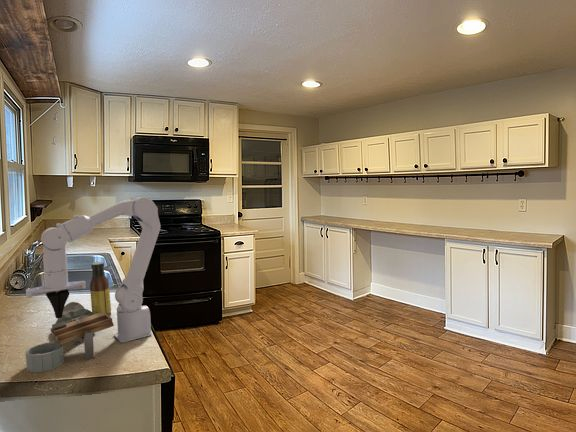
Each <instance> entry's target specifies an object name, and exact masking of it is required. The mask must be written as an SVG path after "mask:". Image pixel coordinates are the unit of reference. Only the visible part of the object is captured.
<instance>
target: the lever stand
mask: <svg viewBox="0 0 576 432" xmlns="http://www.w3.org/2000/svg"><path fill="white" fill-rule="evenodd" d="M76 319H78V320H79V319H80V318H74V319H72V321H75V320H76ZM72 343H73V345H77V344H82V343H84V346H83V347H84V360H85V361H86V362H88V361H91V360H95V347H94V333H93V332H92V331H90V332H85V333H84V337H83V342H82V337H81V338H78V339H75V340H72Z"/></svg>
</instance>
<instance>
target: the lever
mask: <svg viewBox="0 0 576 432" xmlns="http://www.w3.org/2000/svg"><path fill="white" fill-rule="evenodd" d="M55 323H56V322H55ZM55 323H53V324H51V327H52V328H50V329H49V330H50V332H51V334H52V336H53V337H54V339H55V342H57V343H58V344H59V345H61V344H62V345H63V344H66V343H70V342H73V340H75V339H78V338H81V339H82V338H84V333H85V332H90V331H92V332H93V334H94V333H98V332H100V331H103V330H107V329H108V328H111V327H114V326H115V325H114V322H113V318H112V317H111V315H110V316H109V315H108V314H105V315H104V314H103V313H102V312H101V313H97V314H94V315H91V316H88V317H85V318H82V319H79V320H78V319H76V320H75V321H72V322H69V323H66V324H65V322H64V321H62V322H59V323H56V324H55Z"/></svg>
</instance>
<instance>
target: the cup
mask: <svg viewBox="0 0 576 432" xmlns="http://www.w3.org/2000/svg"><path fill="white" fill-rule="evenodd" d="M25 362H26V363H25V364H26V365H25V367H26V370H27V372H29V371H30V372H29V373H43V372H48V371H52V370H54V369H56V368H58V367H61V366H62V364H63V363H64V347H63V344H61V345H59V344H58V342H57V341H53V342H51V341H50V342H43V343H40V344H36V345H34V346H31V347H29V348H28V349H27V350H26V351H25Z"/></svg>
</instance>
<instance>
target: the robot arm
mask: <svg viewBox="0 0 576 432" xmlns="http://www.w3.org/2000/svg"><path fill="white" fill-rule="evenodd" d="M158 211H159V208H158V206H157V205H156V204H155V202H154V201H153V200H152V199H151V198H149V197H141V196H134V197H131V198H127V199H125V200H122V201H119V202H117V203H115V204H113V205H110V206H108V207H106V208H104V209H102V210H100V211H98V212H95V213H94V214H92V215H85V214H80V215H79V214H75V215H73V216H72V219H69V220H67V221H64V222H62V223H60V222H58V223H55V226H56V227H49V228H46V229H45V230H44V231H43V232H42V234H41V237H40V241H41V243H42V245H43V248H42V252H43V255H42V260H43V262H42V264H43V274H44V276H43V278H44V285H42V286H37V287H32V288H26V289H25V293H26V294H25V295H26V298H27V299H28V298H33V297H38V296H43V295H45V296H46V298H47V300H48V301H49V302H50V305H51V307H52V308H53V312H54V316H55V318H56V319H58V318H62V314H63V309H64V306H66V303H67V301H68V299H69V296H70V291H73V290H74V291H75V290H79V289H80V290H81V289H82V290H83V289H86V288H87V282H86V281H85V280H78V281H69V274H68V273H69V272H68V270H69V269H68V257H67V255H68V254H67V252H66V245H67V243H71V242H73V241H76V240H78V239H80V238H82V237H84V236H86V235H89V234H92V232H93V231H94V228H95V227H96V226H98V225H101V224H103V223H105V222H108V221H110V220H113V219H115V218H118V217H120V216H129V217H130V216H131V217H133V218H134V219H136V220H137V222H138V224H139V225H140V227H141V229H142V230H141V232H140V235H139V239H138V241H137V244H136V248H135V250H134V254H133V256H132V258H131V261H130V265H129V268H128V270H127V275H125V278H124V279H122V281H121V284H120V286H119V287H118V288H117V289H116V291H115V293H114V298H115V301H116V302H117V303H118V305H117V307H116V319H117V321H116V323H117V332H115V333H113V336H114V337H115V338H116V339H117V340H118V341H119V343H127V342H131V341H134V340H140V339H142V338H146V337H150V336H152V335H153V333H152V325H151V322H152V321H151V310H150V308H149V307H148V306H147V305H142V304H143V301H144V298H143V292H144V290H145V289H144V279H145V276H146V274H147V273H146V272H147V271H148V268H149V265H150V261H151V258H152V255H153V252H154V249H155V246H156V242H157V240H158V237H159V234H160V231H161V226H162V225H161V222H160V218H159V212H158Z"/></svg>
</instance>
